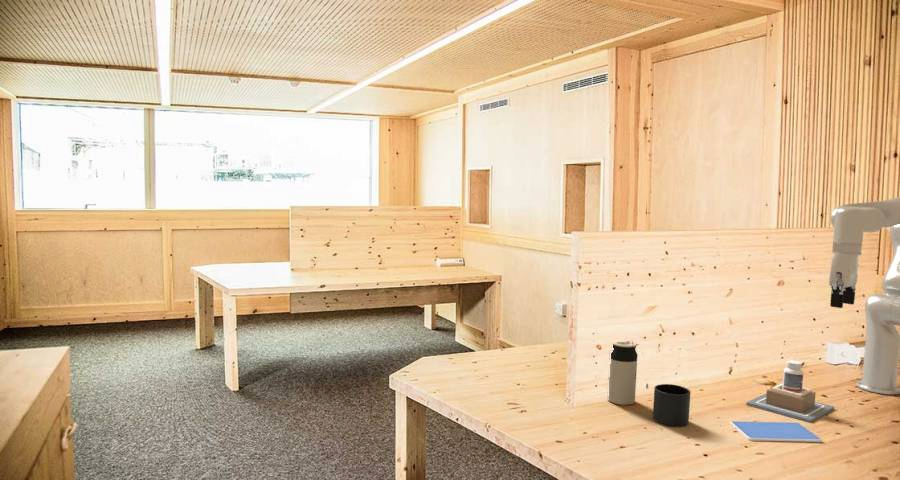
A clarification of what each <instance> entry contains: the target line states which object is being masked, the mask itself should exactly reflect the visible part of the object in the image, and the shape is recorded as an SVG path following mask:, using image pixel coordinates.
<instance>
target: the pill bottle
mask: <svg viewBox="0 0 900 480" xmlns="http://www.w3.org/2000/svg"><path fill="white" fill-rule="evenodd" d="M785 366H786V367H785V368H784V369H783V372H782V383H783V385H782V389H783V390H786V391H790V392H794V393H798V394H799V393H801V392H802V388H803V383H804V382H803V381H804V371H803V370H802V369H801V368H802V366H803V365H802V362H801V361H797V360H793V359H792V360H791V359H789V360H786V363H785Z"/></svg>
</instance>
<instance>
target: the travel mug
mask: <svg viewBox="0 0 900 480" xmlns="http://www.w3.org/2000/svg"><path fill="white" fill-rule="evenodd" d="M637 346H638V343H637V342H636V341H633V340H629V341H627V342H617V343H613V348H614V350H613V352H612V353H611V364H610V377H609V376H608V380H609V397H608V396H607V399H608V398H609V400H608V401H609V402H610V403H612V404H614V405H618V406H631V405H633V404H635V402H636V388H637V385H636V384H637V372H638V371H637V368H638V353H637V350H636V349H637Z"/></svg>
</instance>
